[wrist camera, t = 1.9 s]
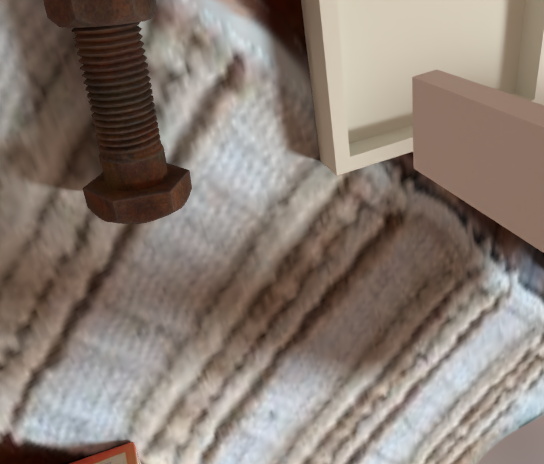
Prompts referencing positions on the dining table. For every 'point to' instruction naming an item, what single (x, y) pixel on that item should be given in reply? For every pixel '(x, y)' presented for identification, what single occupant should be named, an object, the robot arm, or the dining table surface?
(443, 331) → the dining table surface
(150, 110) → the bolt
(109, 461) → the cracker box
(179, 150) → the dining table surface
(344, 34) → the tray
